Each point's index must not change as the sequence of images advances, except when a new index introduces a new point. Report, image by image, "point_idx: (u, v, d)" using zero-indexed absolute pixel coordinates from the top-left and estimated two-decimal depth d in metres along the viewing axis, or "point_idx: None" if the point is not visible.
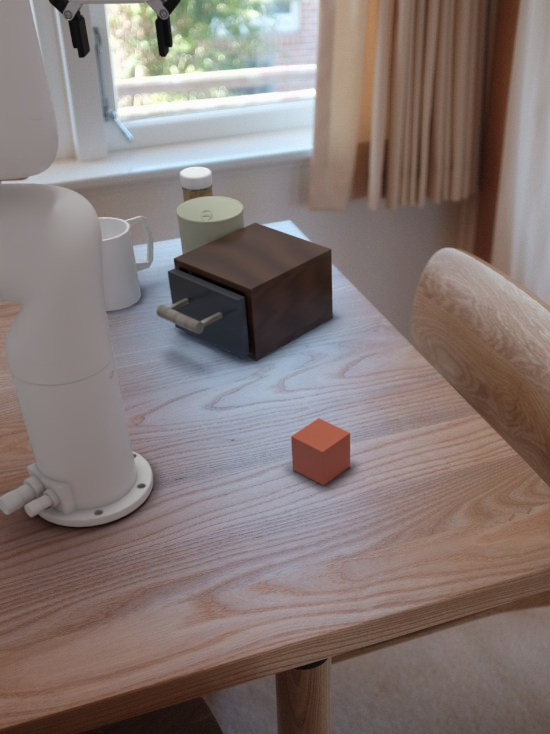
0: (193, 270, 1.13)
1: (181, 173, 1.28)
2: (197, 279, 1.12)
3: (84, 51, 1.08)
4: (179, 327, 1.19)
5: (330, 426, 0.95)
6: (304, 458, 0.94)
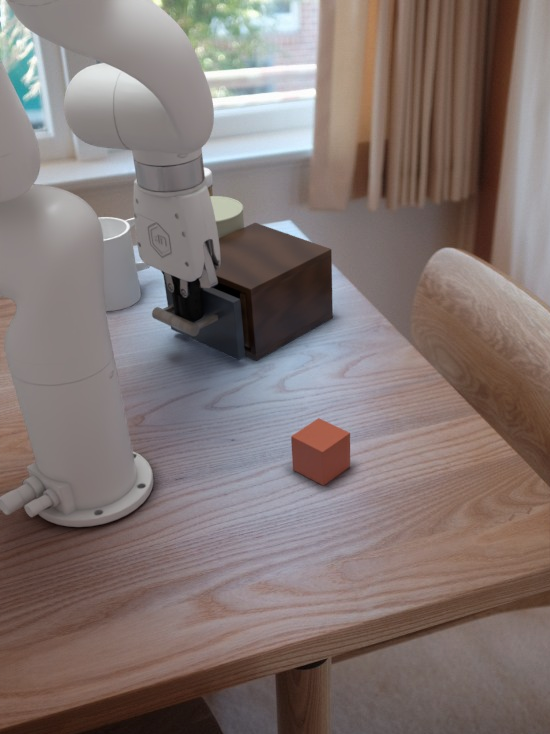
0: None
1: None
2: None
3: None
4: (175, 329, 1.18)
5: (330, 426, 0.95)
6: (304, 458, 0.94)
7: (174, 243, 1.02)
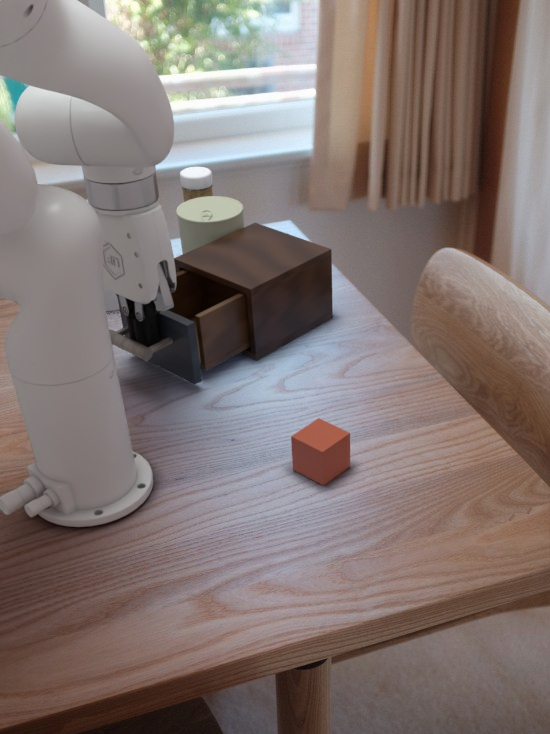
0: (193, 270, 1.13)
1: (181, 173, 1.28)
2: None
3: None
4: None
5: (330, 426, 0.95)
6: (304, 458, 0.94)
7: (127, 264, 0.98)
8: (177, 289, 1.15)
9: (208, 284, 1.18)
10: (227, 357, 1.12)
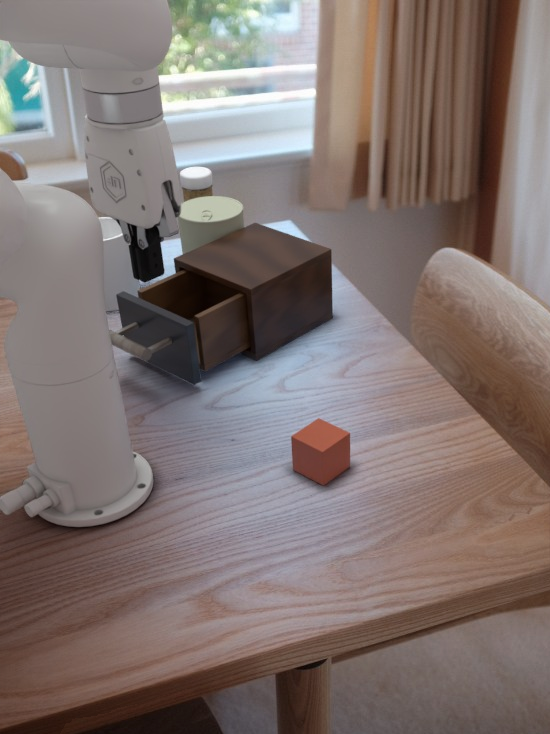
0: (193, 270, 1.13)
1: (181, 173, 1.28)
2: (146, 303, 1.08)
3: None
4: None
5: (330, 426, 0.95)
6: (304, 458, 0.94)
7: (129, 184, 0.92)
8: (176, 289, 1.15)
9: (207, 284, 1.18)
10: (226, 357, 1.12)
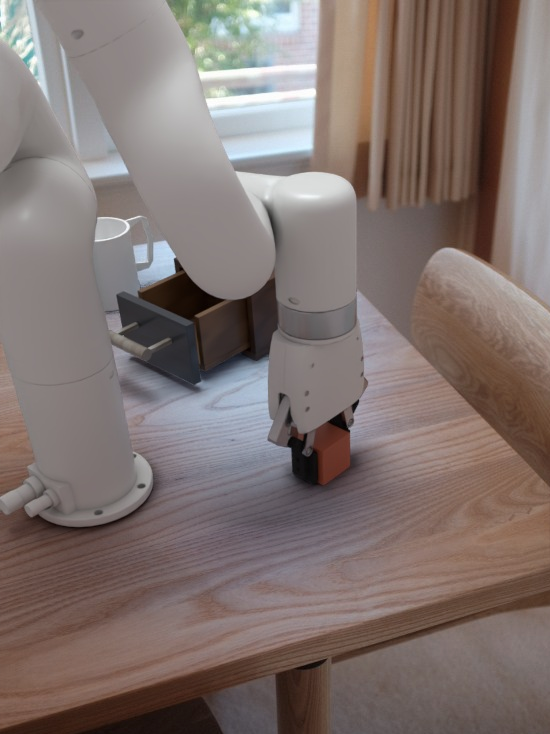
0: None
1: None
2: (146, 303, 1.08)
3: None
4: None
5: (330, 426, 0.95)
6: None
7: None
8: (176, 289, 1.15)
9: None
10: (226, 357, 1.12)
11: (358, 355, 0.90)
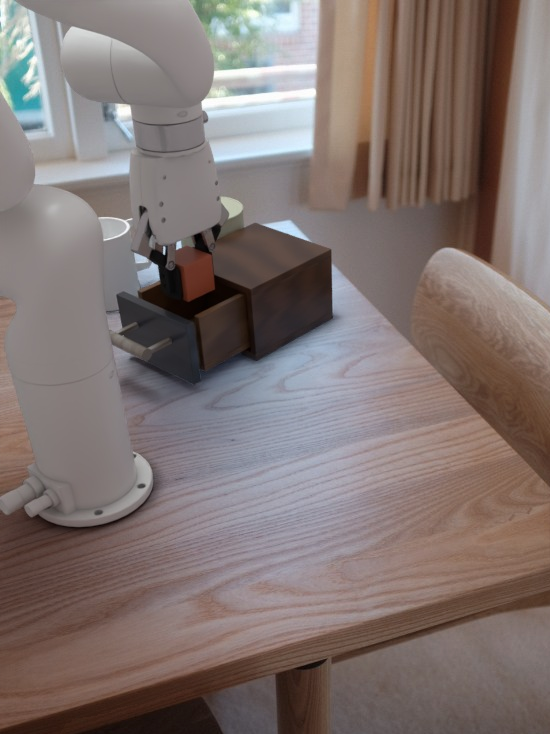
0: None
1: None
2: (146, 303, 1.08)
3: None
4: None
5: (195, 251, 1.08)
6: None
7: None
8: None
9: None
10: (226, 357, 1.12)
11: (212, 178, 1.02)
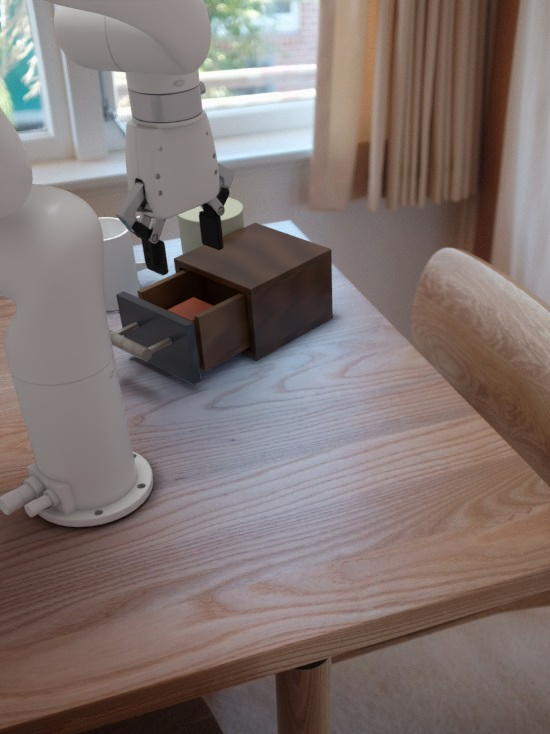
0: (193, 270, 1.13)
1: None
2: (146, 303, 1.08)
3: (203, 240, 1.10)
4: None
5: (202, 303, 1.13)
6: None
7: None
8: (176, 289, 1.15)
9: (207, 284, 1.18)
10: (226, 357, 1.12)
11: (209, 151, 1.01)
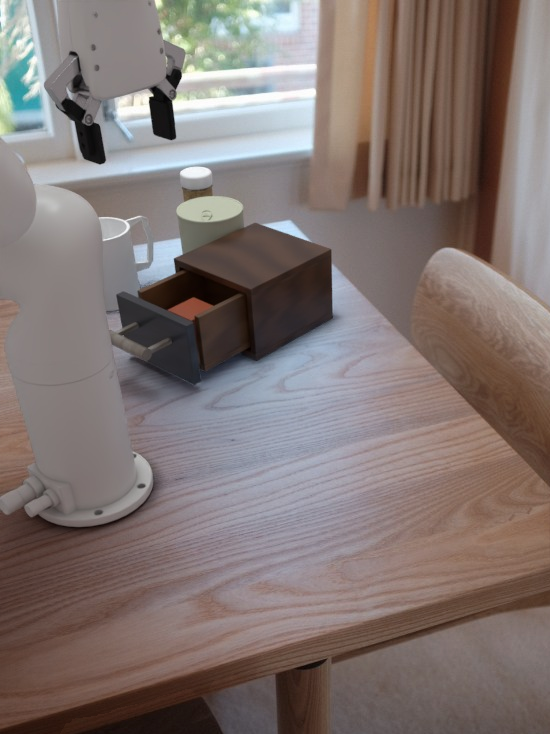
0: (193, 270, 1.13)
1: (181, 173, 1.28)
2: (146, 303, 1.08)
3: (154, 130, 1.00)
4: None
5: (202, 303, 1.13)
6: None
7: None
8: (176, 289, 1.15)
9: (207, 284, 1.18)
10: (226, 357, 1.12)
11: (153, 24, 0.91)
